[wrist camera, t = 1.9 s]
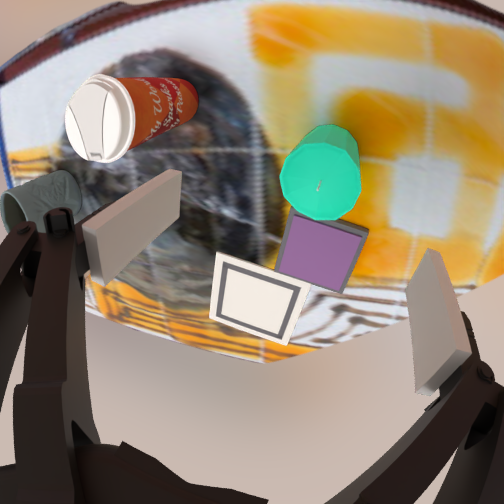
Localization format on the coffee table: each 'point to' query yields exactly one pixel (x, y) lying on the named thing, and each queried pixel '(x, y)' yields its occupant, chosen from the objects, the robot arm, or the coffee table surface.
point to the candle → (323, 174)
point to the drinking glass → (39, 199)
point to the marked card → (256, 298)
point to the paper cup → (125, 113)
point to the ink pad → (320, 250)
